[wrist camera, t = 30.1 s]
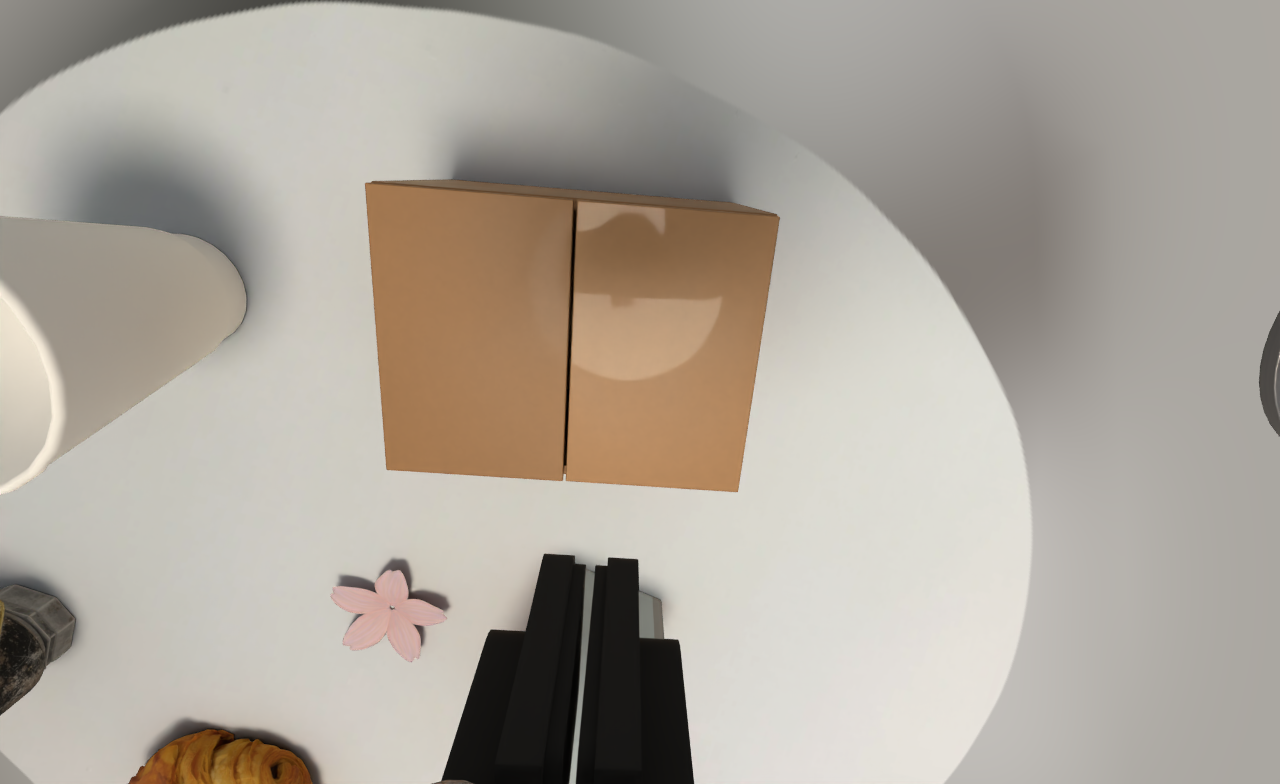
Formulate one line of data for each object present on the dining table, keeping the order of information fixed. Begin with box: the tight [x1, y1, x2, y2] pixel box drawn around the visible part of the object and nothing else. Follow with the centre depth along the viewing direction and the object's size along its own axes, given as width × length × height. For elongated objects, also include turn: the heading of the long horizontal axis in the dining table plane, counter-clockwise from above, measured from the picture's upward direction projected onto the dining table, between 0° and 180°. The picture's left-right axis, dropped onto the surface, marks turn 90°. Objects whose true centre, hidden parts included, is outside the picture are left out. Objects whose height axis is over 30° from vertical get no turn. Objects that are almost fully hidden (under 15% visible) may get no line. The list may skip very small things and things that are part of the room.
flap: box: [566, 200, 780, 492], centre depth 27 cm, size 8×13×1 cm, turn 175°
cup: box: [0, 216, 247, 495], centre depth 30 cm, size 12×12×16 cm
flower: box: [330, 570, 447, 662], centre depth 45 cm, size 10×10×2 cm
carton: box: [365, 179, 777, 481], centre depth 32 cm, size 17×13×12 cm
